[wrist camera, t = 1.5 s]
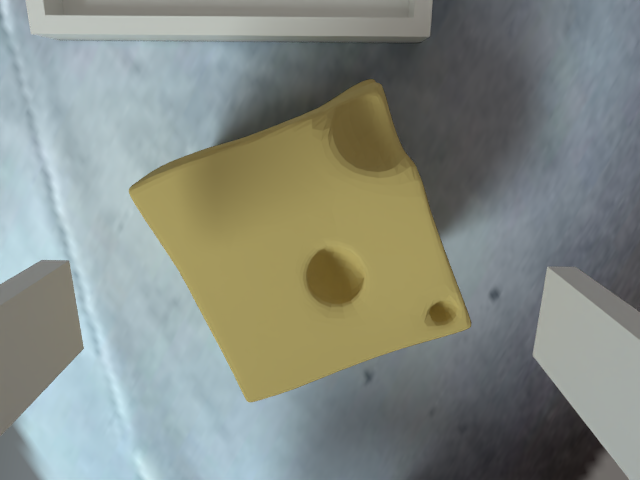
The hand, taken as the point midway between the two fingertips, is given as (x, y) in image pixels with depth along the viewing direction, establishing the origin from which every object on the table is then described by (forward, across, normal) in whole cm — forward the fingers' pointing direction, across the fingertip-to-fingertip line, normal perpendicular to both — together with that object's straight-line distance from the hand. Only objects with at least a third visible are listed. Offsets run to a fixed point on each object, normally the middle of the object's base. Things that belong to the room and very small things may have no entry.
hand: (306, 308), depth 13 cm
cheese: (+14, 0, 0) cm, 14 cm away
